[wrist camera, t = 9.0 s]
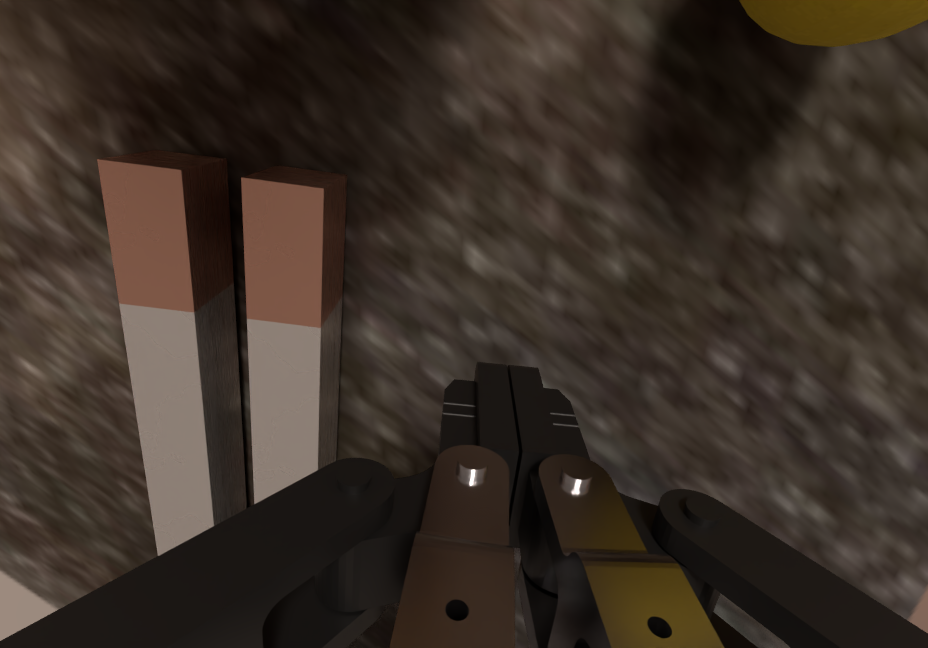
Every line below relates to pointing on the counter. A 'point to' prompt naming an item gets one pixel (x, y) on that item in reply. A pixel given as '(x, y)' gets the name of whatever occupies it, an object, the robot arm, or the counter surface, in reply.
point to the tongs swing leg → (293, 319)
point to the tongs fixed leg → (179, 333)
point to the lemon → (835, 19)
